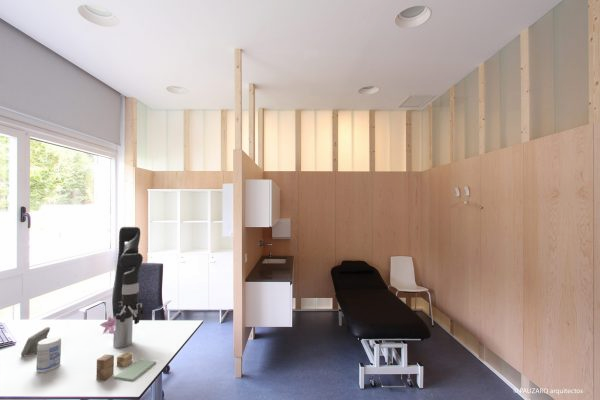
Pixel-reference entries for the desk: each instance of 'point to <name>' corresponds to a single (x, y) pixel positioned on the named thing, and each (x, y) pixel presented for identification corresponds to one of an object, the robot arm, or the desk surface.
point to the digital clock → (34, 342)
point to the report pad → (135, 370)
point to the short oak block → (124, 359)
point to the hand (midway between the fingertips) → (129, 322)
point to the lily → (109, 325)
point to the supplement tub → (48, 354)
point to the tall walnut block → (105, 367)
